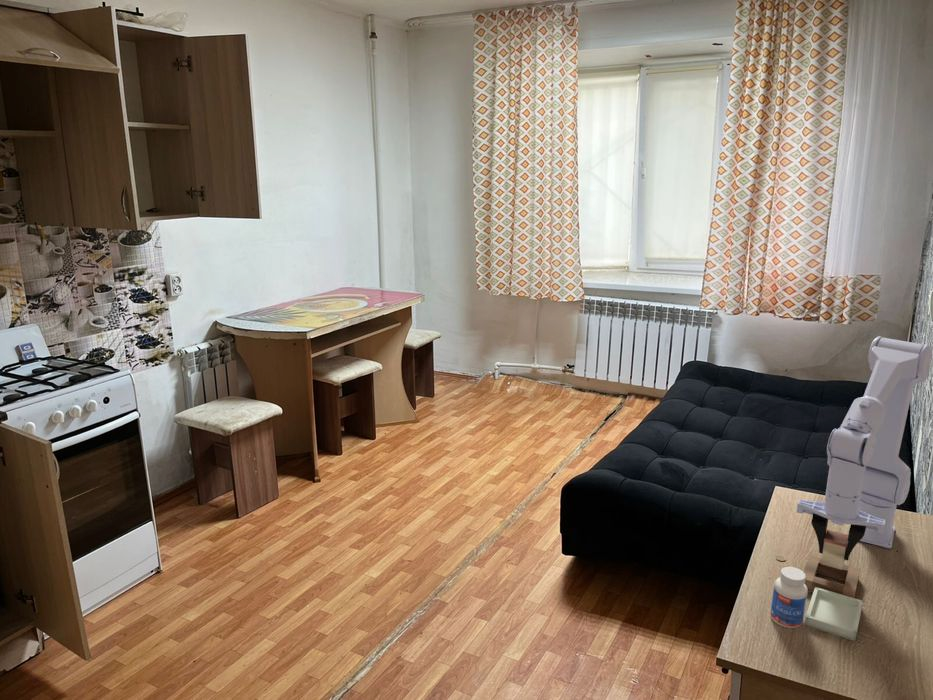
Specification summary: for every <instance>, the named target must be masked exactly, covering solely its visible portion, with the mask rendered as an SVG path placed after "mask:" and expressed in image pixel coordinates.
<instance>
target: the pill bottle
mask: <svg viewBox="0 0 933 700" xmlns="http://www.w3.org/2000/svg"><path fill="white" fill-rule="evenodd" d="M780 570H781V571H780V575H779V577H778V578H777V579H775V581H774V585H773V590H772V591H773V592H772V598H771V606H770V617H771V620H772V621H773V622H775V624H777V625H779V626H781V627H783V628H787V629H796V628H798V627H801V626H802V624H803V622H804V616H805V609H806V604H807V598H808V593H809V591H808V589H807V586H806V585H805V584H804V583H805V578H806V575H805V573H804V570H801V569H799V568H797V567H794V566H784V567H782V568H781V569H780Z"/></svg>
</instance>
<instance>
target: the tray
mask: <svg viewBox="0 0 933 700" xmlns="http://www.w3.org/2000/svg"><path fill="white" fill-rule="evenodd" d="M863 602H864V600H861V599H858V598H852V597H848V596H845V595H842V594H838V593H835V592H832V591H828V590H825V589H821V588H818V587H815V589H814V592H813V593H812V595H811V599H810V602H809V605H808V608H807V611H806V615H805V620H804V625H805V626H807V627H810V628H813V629H816V630H819V631H822V632H824V633H828V634H830V635H834V636H837V637H840V638H844V639H847V640H849V641H853V642H856V639H857V638H856V637H857V633H858V630H859V629H858V628H859V626H860V625H859V624H860V621H861V620H860V619H861V614H862V610H863V606H864V605H863V604H864V603H863Z"/></svg>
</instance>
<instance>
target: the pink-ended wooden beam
mask: <svg viewBox="0 0 933 700" xmlns="http://www.w3.org/2000/svg"><path fill="white" fill-rule="evenodd" d="M848 535H849V534H847V533H842V532H838V531H835V530H831V529H827V530H826V535H825V538H824V547H823V554H822V553H821V554H822V555H821V558H822V561H821V564H823V565H827V566H830V567H834V568H837V569H841V570H842V568H843V565H845V561H846V560H844V556H845V552H846V548H847V543H848Z"/></svg>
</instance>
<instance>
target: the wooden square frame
mask: <svg viewBox="0 0 933 700" xmlns="http://www.w3.org/2000/svg"><path fill="white" fill-rule="evenodd" d="M821 561H822V557H818V556H814V555H812V554H809V555H808V559H807V561H806V565H805V568H804V570H803V572H804V573H805V575H806V578H805V583H804V584H805V585H806V586H807V589H808V593H812V594H813V592H814V589H815V587H818V588H821V589H825V590H828V591H832V592H835V593H838V594H842V595H845V596H848V597H852V598H855V596H856V592H857V588H858V584H859V579H860V573H861V568H858V567H854V566H851V565H848V564H844V565H843V568H842V570H841V569H837V568H834V567H830V566H827V565H823V564H821ZM818 574H819V575H823V576H826V577H830V578H833V579H836V580H840V581H844V584H842V583H839V582H835V581H832V580H828V579H826V578H825V579H824V578H822V577H819V576H817V575H818ZM855 599H856V598H855Z"/></svg>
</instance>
